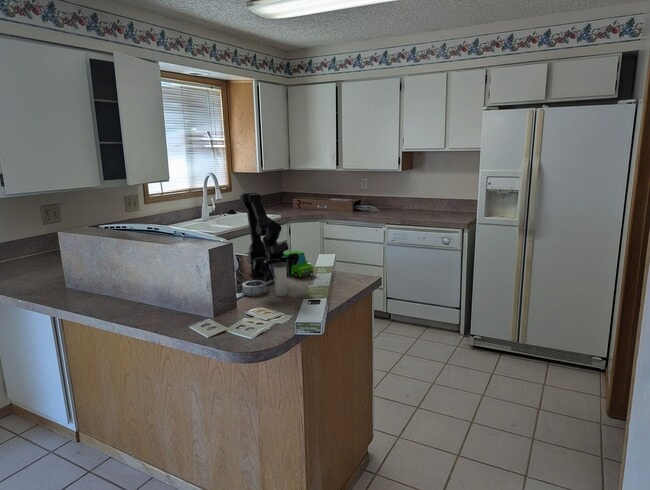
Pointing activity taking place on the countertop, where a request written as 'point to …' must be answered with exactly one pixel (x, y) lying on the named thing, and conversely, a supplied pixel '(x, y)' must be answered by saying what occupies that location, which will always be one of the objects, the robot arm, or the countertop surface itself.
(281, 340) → the countertop surface
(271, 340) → the countertop surface
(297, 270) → the toy car
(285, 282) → the white cylinder
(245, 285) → the grey octagonal ring
